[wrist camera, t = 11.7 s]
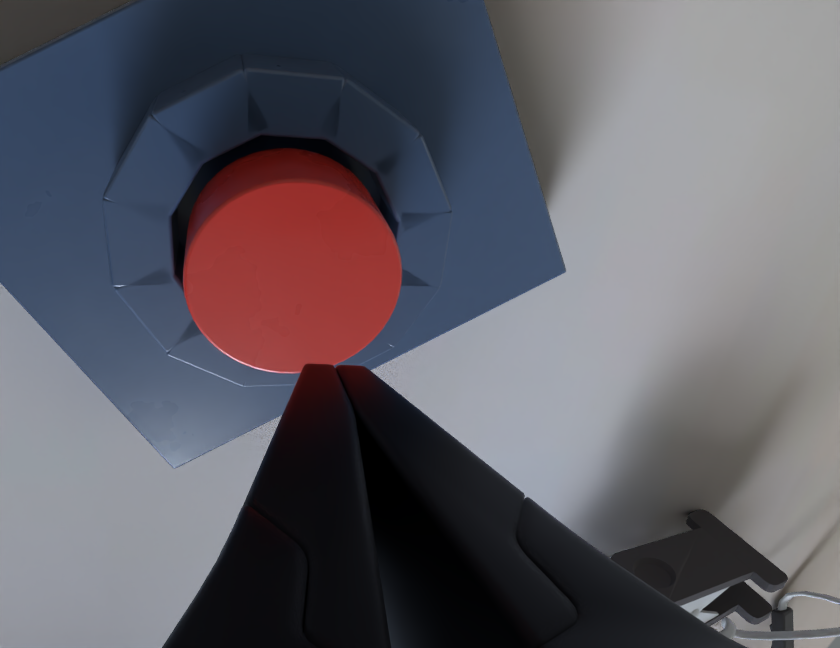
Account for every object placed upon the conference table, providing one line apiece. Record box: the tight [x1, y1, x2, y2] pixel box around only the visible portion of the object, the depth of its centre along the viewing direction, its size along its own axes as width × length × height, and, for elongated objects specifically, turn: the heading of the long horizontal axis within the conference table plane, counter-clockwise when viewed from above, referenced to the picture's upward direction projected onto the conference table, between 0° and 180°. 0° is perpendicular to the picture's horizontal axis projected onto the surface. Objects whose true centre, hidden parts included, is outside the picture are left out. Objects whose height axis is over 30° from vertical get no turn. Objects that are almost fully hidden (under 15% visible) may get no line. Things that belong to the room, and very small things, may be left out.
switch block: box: [0, 0, 566, 468], centre depth 15 cm, size 12×10×4 cm
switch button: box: [183, 148, 402, 374], centre depth 13 cm, size 4×4×2 cm
